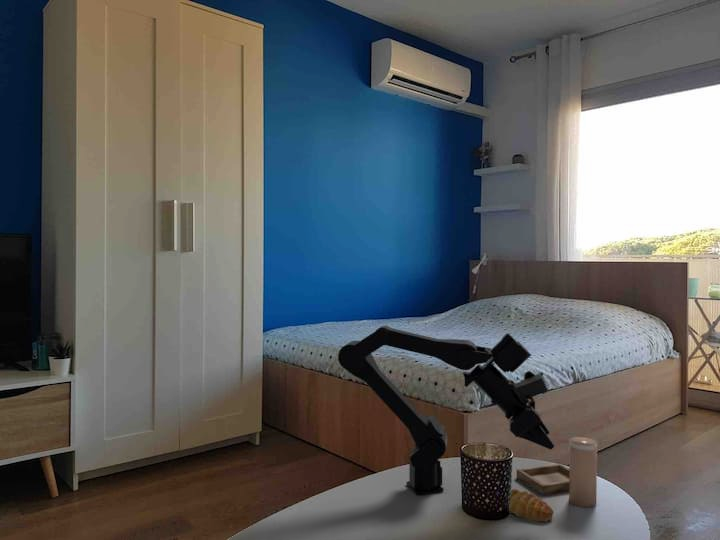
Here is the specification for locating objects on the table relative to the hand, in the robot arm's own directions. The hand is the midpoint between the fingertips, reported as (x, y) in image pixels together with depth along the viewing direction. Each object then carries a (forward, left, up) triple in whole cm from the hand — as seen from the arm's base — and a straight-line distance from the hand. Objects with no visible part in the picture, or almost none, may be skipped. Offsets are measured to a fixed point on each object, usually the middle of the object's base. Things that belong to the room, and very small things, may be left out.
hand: (550, 440), depth 120 cm
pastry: (-8, -4, -13) cm, 16 cm away
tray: (+6, +7, -13) cm, 16 cm away
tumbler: (+6, -3, -13) cm, 14 cm away
